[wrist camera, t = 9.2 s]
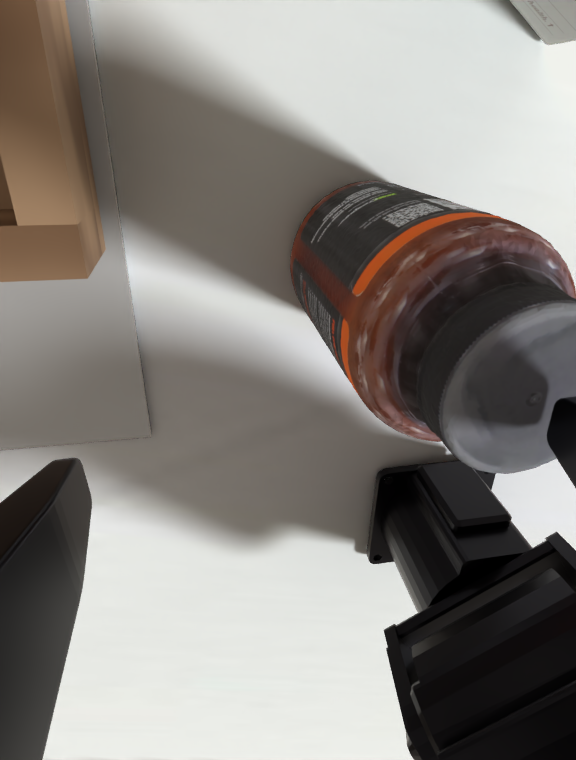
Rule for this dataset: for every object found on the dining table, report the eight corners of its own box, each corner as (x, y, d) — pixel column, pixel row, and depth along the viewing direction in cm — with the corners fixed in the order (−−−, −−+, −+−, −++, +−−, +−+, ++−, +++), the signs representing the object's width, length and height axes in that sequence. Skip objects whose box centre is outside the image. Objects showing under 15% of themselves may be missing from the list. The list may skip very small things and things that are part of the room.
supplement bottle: (359, 352, 22) (500, 550, 12) (255, 268, 19) (326, 434, 9) (459, 246, 20) (717, 372, 10) (362, 140, 17) (583, 173, 8)
